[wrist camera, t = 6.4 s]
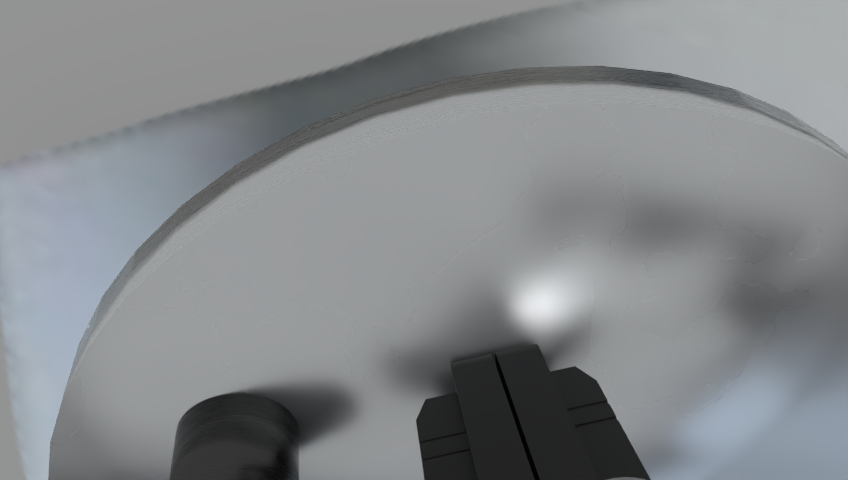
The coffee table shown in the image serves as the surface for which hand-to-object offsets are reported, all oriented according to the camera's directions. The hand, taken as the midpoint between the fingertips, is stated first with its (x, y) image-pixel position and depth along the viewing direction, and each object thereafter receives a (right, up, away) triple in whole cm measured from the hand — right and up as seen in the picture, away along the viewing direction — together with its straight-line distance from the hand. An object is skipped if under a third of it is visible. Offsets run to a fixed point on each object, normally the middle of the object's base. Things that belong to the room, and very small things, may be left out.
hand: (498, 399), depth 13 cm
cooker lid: (0, -2, +3) cm, 4 cm away
